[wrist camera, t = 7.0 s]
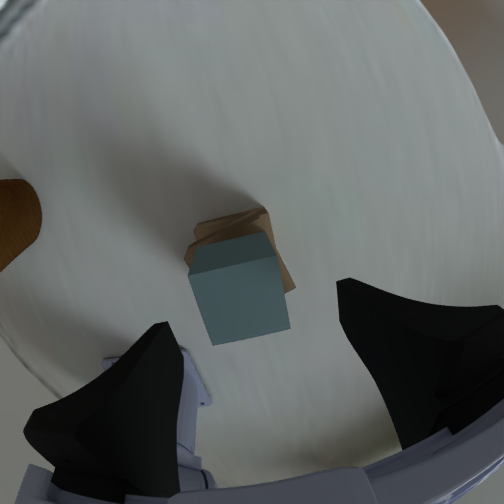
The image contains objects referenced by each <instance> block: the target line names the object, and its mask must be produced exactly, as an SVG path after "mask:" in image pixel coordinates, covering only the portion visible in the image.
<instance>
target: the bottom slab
mask: <svg viewBox="0 0 504 504" xmlns="http://www.w3.org/2000/svg"><path fill="white" fill-rule="evenodd" d="M254 210H256V211H257V213H258V215H259V217H260V219H261V221H262V222H263V224H264V226H265V228H266V230H267V232H268V234H269V236H270V238H271V240H272V241H273V243H274V245H275V241H274V236H273V232H272V227H271V222H270V218H269V213H268V212H267V210H266V209H265V207H262V208H258V209H254ZM254 210H250V211H246V212H241V213H237V214H233V215H229V216H225V217H221V218H217V219H213V220H209V221H205V222H202V223H198V224H197V226H196V228H195V230H194V233H195V236H196V240H197V241H198V240H200V239H202V238H204V237H206V236H207V235H209V234H211V233H213V232H215V231H217V230H218V229H220V228H222V227H224V226H226V225H228V224H230V223H231V222H233V221H235V220H237V219H239V218H241V217H243V216H245V215H246V214H248V213H250V212H252V211H254ZM275 247H276V246H275Z"/></svg>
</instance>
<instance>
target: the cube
mask: <svg viewBox="0 0 504 504" xmlns="http://www.w3.org/2000/svg"><path fill="white" fill-rule="evenodd" d="M188 278H189V281H190V284H191V287H192V290H193V293H194V296H195V299H196V302H197V304H198V307H199V310H200V313H201V316H202V318H203V321H204V324H205V327H206V329H207V332H208V335H209V337H210V340H211V343H212V345H213V346H214V345H219V344H224V343H229V342H234V341H239V340H244V339H248V338H253V337H257V336H262V335H266V334H271V333H275V332H279V331H283V330H287V329H291V328H290V322H289V317H288V311H287V306H286V301H285V295H284V290H283V285H282V280H281V274H280V269H279V264H278V259H277V255H276V253H275V250H274V248H273V246H272V244H271V242H270V240H269V238H268V236H267V234H266V232H265V231H263V232H259V233H255V234H250V235H246V236H242V237H237V238H233V239H229V240H225V241H221V242H216V243H212V244H208V245H204V246H200V247H197V248H196V251H195V254H194V258H193V261H192V264H191V267H190V270H189V273H188Z"/></svg>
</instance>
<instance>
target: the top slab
mask: <svg viewBox="0 0 504 504" xmlns="http://www.w3.org/2000/svg"><path fill="white" fill-rule="evenodd" d="M263 231H265V232H266V234H267V236H268V238H269V240H270V242H271V244H272V246H273V248H274V250H275V253H276V255H277V259H278V264H279V269H280V274H281V280H282V285H283V290H284V294H285V293H287V292H289V291H291V290H293V289H295V288H296V286H295V284H294V282H293V280H292V278H291V276H290V274H289V272H288V271H287V269H286V267H285V265H284V263H283V261H282V259H281V257H280V255H279V253H278V251H277V249H276V247H275V245H274V243H273V241H272V240H271V238H270V236H269V234H268V232H267V230H266V228H265V226H264V224H263V222H262V221H261V219H260V217H259V215H258V213H257V211H256V210H254V211H252V212H250V213H248V214H246V215H245V216H243V217H241V218H239V219H237V220H235V221H233V222H231V223H230V224H228V225H226V226H224V227H222V228H220V229H218V230H217V231H215V232H213V233H211V234H209V235H207V236H206V237H204V238H202V239H200V240H198V241H197V242H195V243H193V244H191V245H189V247H188V250H187V252H186V254H185V257H184V260H185V262H186V263H187V265H188V266H189V268H190V267H191V264H192V261H193V258H194V254H195V251H196V248H197V247H200V246H204V245H208V244H212V243H216V242H221V241H225V240H229V239H233V238H237V237H242V236H246V235H250V234H255V233H259V232H263Z"/></svg>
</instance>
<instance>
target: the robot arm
mask: <svg viewBox="0 0 504 504" xmlns="http://www.w3.org/2000/svg"><path fill="white" fill-rule="evenodd" d="M336 285H337V296H338V307H339V321H340V323H341V325H342V328H343V330H344V332H345V334H346V336H347V338H348V340H349V342H350V343H351V345H352V346H353V348H354V349H355V351H356V352H357V354H358V355H359V357H360V358H361V360H362V361H363V363H364V364H365V366H366V367H367V369H368V371H369V372H370V374H371V375H372V377H373V379H374V381H375V382H376V384H377V387H378V389H379V391H380V393H381V395H382V397H383V399H384V402H385V404H386V406H387V409H388V411H389V414H390V416H391V419H392V421H393V424H394V427H395V429H396V432H397V435H398V438H399V441H400V444H401V447H402V451H400V452H398V453H396V454H394V455H391V456H389V457H387V458H385V459H382V460H380V461H377V462H375V463H372V464H370V465H367V466H365V467H362V468H358V467H338V468H333V469H328V470H323V471H318V472H314V473H310V474H306V475H302V476H298V477H293V478H288V479H284V480H278V481H273V482H267V483H261V484H254V485H247V486H238V487H228V488H218V486H217V483H216V481H215V480H214V478H213V476H212V474H211V473H210V472H209V471H208V470H205V469H202V458H201V457H198V456H195V455H194V454H195V436H196V420H197V407H203V406H209V405H211V404H212V400H211V398H210V396H209V394H208V392H207V390H206V388H205V386H204V384H203V382H202V380H201V378H200V376H199V374H198V372H197V369H196V367H195V365H194V363H193V361H192V359H191V357H190V354H189V352H188V351H187V350H186V349H180V348H179V345H178V343H177V341H176V339H175V337H174V334H173V332H172V330H171V328H170V325H169V323H168V321H166V322H161V323H156V324H154V325H153V326H151V327H150V328H149V329H148V330H147V331H146V332H145V333H144V334H143V335H142V336H141V337H140V338H139V339H138V340H137V341H136V342H135V344H134V345H133V346H132V347H131V348H130V349H129V350H128V351H127V352H126V353H125V354H124V355H122V356H121V357H120V358H111V359H104V360H103V361H102V366H103V367H104V369H105V371H104V372H103V373H102V374H101V375H100V376H98V377H97V378H96V379H94V380H93V381H91V382H90V383H88V384H87V385H85V386H84V387H82V388H80V389H79V390H77V391H76V392H74V393H72V394H70V395H68V396H66V397H64V398H62V399H60V400H58V401H56V402H53V403H51V404H48V405H46V406H43V407H40V408H38V409H35V410H34V411H33V413H32V414H31V416H30V418H29V420H28V422H27V424H26V426H25V428H24V431H23V433H24V435H25V438H26V439H27V441H28V442H29V444H30V445H31V446H32V447H33V448H34V449H35V450H37V452H39V453H40V454H41V455H42V456H43V457H44V458H45V459H46V460H47V461H49V462H50V463H51V464H52V465H53V466H54V467H55V471H54V473H52V472H51V471H49V470H47V469H44V468H41V467H38V466H35V465H32V464H29V465H28V468H27V470H26V473H25V476H24V478H23V481H22V484H21V487H20V489H19V492H18V495H17V498H16V501H15V504H452V503H453V502H455V501H456V500H458V499H459V498H461V497H462V496H463V495H465V494H466V493H468V492H469V491H470V490H472V489H473V488H474V487H476V486H477V485H478V484H480V483H481V482H482V481H484V480H485V479H486V478H487V477H488V476H490V475H491V474H492V473H493V472H495V471H496V470H497V469H498V468H499V467H500V466H501V465H503V464H504V309H502V308H501V307H500V306H498V305H489V306H477V307H457V306H445V305H436V304H430V303H424V302H420V301H415V300H411V299H407V298H404V297H401V296H398V295H395V294H392V293H389V292H386V291H383V290H381V289H378V288H376V287H373V286H371V285H368V284H366V283H363V282H361V281H358V280H355V279H352V278H346V279H343V280H339V281H336ZM113 362H114V363H113ZM202 402H203V403H202Z"/></svg>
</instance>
